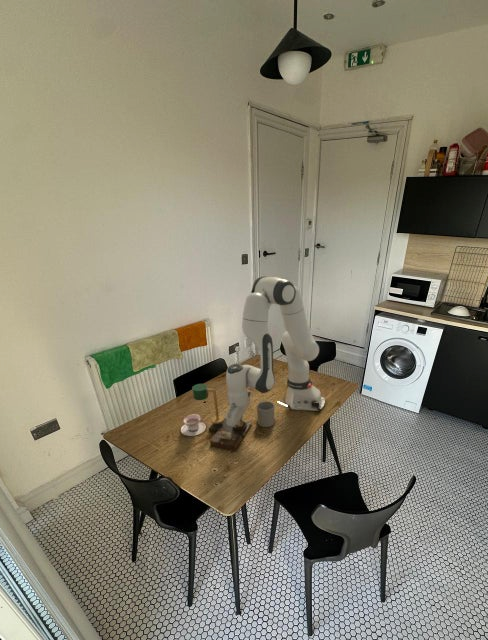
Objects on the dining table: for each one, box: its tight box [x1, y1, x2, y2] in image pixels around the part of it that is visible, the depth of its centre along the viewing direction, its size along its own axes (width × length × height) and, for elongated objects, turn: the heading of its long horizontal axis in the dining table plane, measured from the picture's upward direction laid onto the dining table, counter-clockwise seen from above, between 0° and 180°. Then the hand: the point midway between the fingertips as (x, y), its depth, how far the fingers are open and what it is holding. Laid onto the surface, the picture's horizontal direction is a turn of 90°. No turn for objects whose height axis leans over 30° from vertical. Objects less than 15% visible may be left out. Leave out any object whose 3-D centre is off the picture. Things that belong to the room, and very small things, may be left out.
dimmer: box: [209, 431, 243, 452], centre depth 147 cm, size 12×9×3 cm
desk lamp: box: [191, 383, 225, 424], centre depth 154 cm, size 14×7×17 cm, turn 74°
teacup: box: [180, 413, 207, 437], centre depth 155 cm, size 12×12×6 cm
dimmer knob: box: [220, 431, 232, 440], centre depth 146 cm, size 5×2×3 cm, turn 73°
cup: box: [256, 400, 275, 428], centre depth 160 cm, size 8×8×10 cm
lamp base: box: [208, 417, 252, 439], centre depth 157 cm, size 18×10×4 cm, turn 74°
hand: (239, 423), depth 154 cm, fingers closed
